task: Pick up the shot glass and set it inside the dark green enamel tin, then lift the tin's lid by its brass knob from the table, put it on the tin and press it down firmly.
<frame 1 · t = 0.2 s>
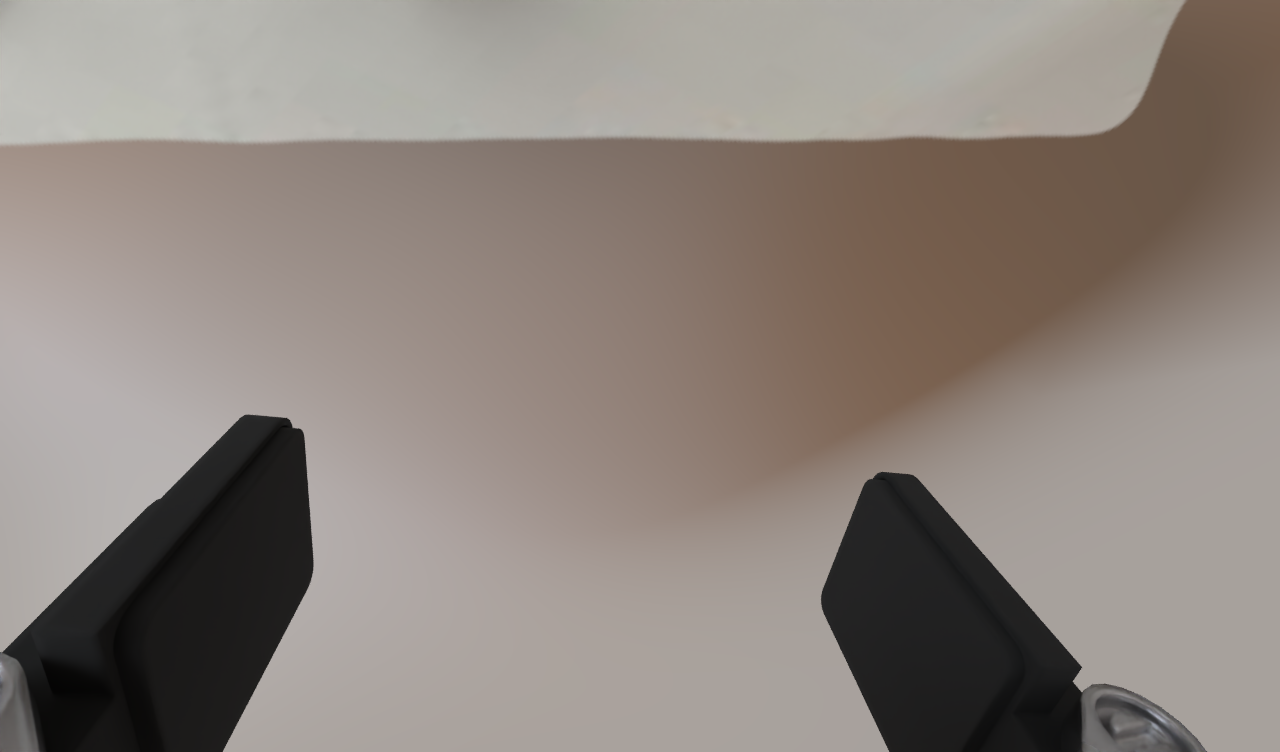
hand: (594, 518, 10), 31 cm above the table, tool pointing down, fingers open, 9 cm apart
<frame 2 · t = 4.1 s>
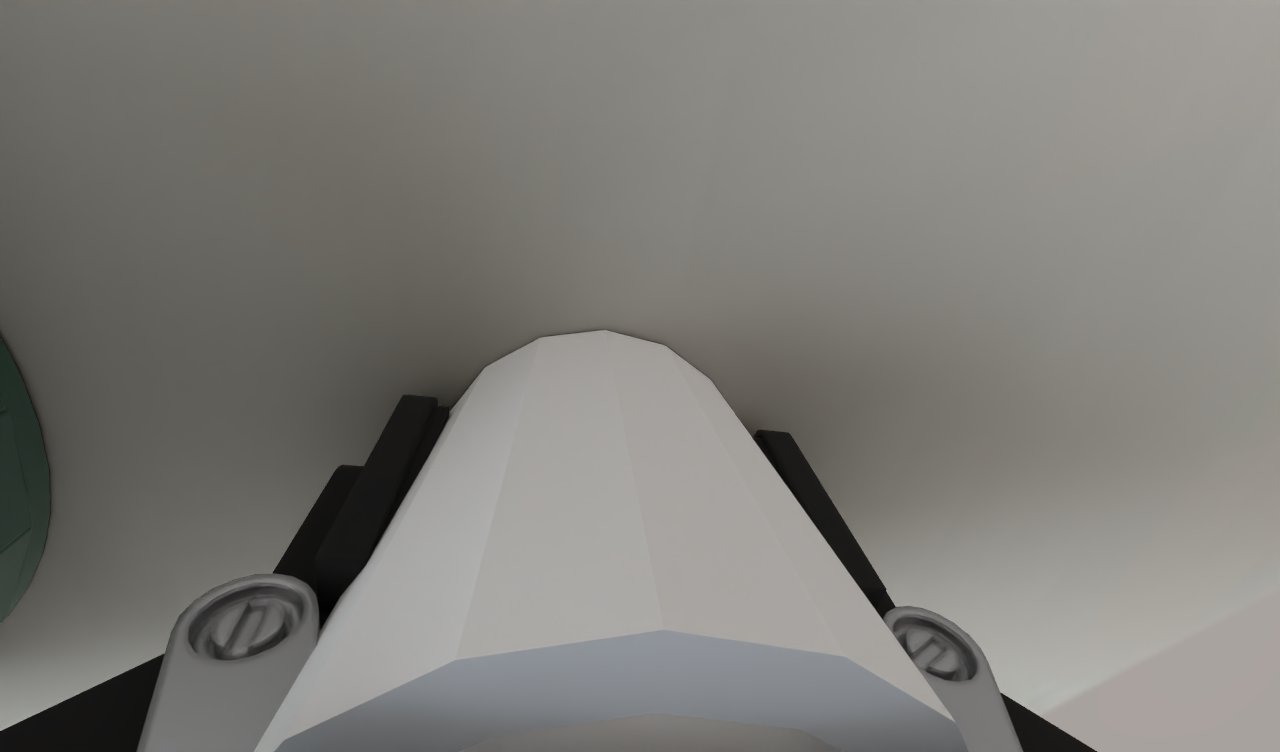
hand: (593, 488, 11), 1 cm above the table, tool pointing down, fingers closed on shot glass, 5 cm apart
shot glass: (591, 461, 12), on the table, touching gripper
when the fingers open (10 cm above the table, at t = 24.7 s): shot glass stays where it is, resting on tin.
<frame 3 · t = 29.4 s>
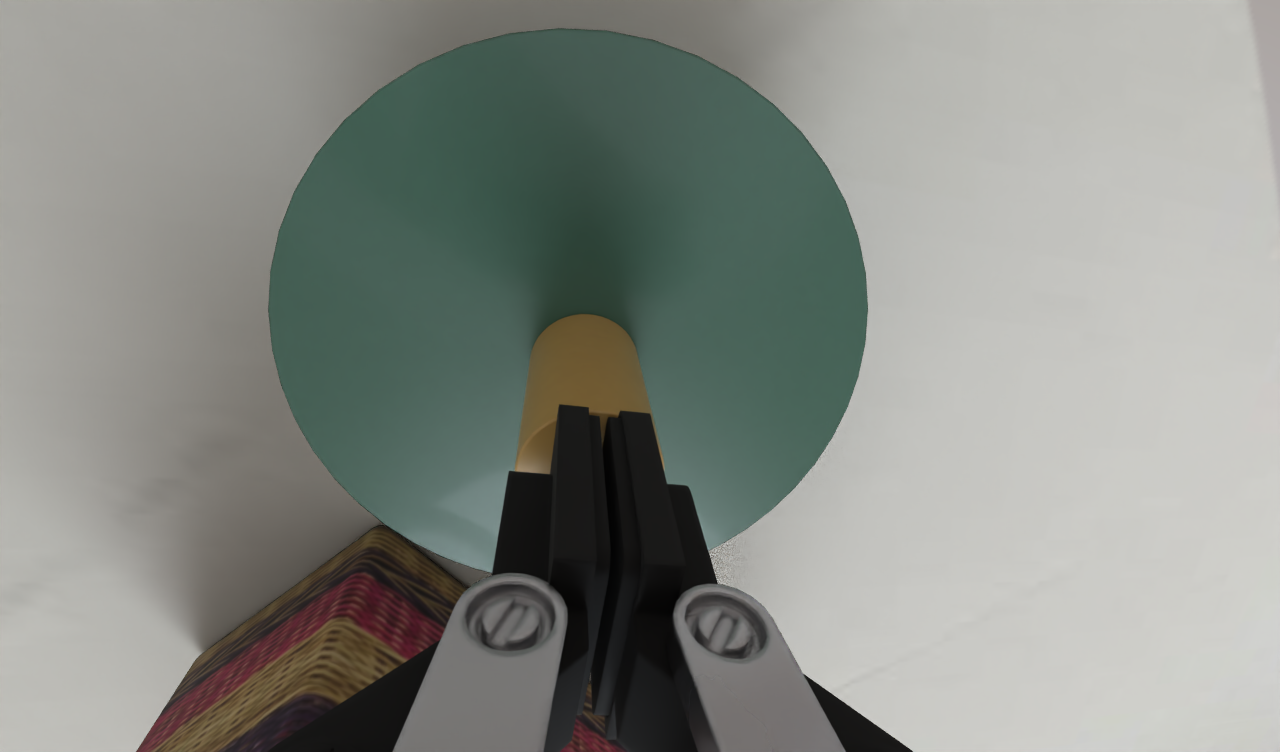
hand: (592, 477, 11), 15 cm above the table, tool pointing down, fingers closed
lid: (584, 356, 16), point 9 cm above the table, touching gripper, tin
basket: (465, 704, 36), on the table
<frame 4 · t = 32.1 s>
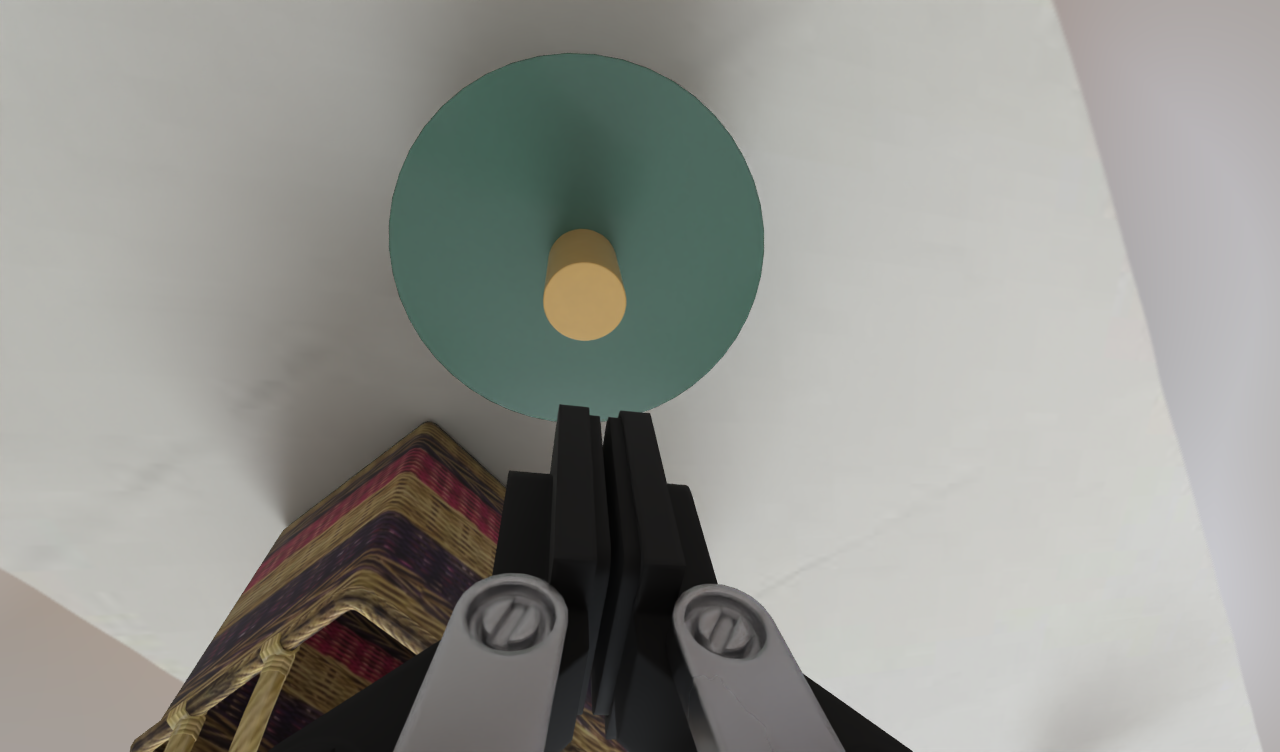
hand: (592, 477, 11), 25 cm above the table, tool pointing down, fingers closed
lid: (582, 259, 25), point 9 cm above the table, touching tin
basket: (489, 580, 45), on the table
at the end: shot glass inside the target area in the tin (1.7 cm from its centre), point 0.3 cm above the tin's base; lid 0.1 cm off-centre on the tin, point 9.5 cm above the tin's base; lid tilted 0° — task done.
